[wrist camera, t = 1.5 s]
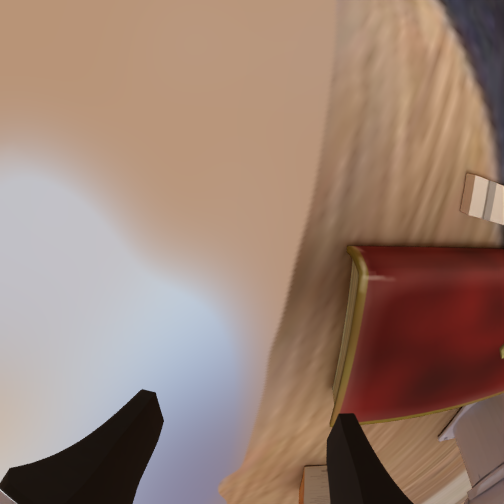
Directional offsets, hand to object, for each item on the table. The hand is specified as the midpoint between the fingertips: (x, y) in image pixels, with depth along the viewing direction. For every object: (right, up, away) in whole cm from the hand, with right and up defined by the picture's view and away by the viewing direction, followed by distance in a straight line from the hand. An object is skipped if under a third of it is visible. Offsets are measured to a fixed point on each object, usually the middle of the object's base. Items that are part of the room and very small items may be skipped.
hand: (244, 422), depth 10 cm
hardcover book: (+16, +2, +7) cm, 18 cm away
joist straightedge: (+19, +10, +3) cm, 21 cm away
